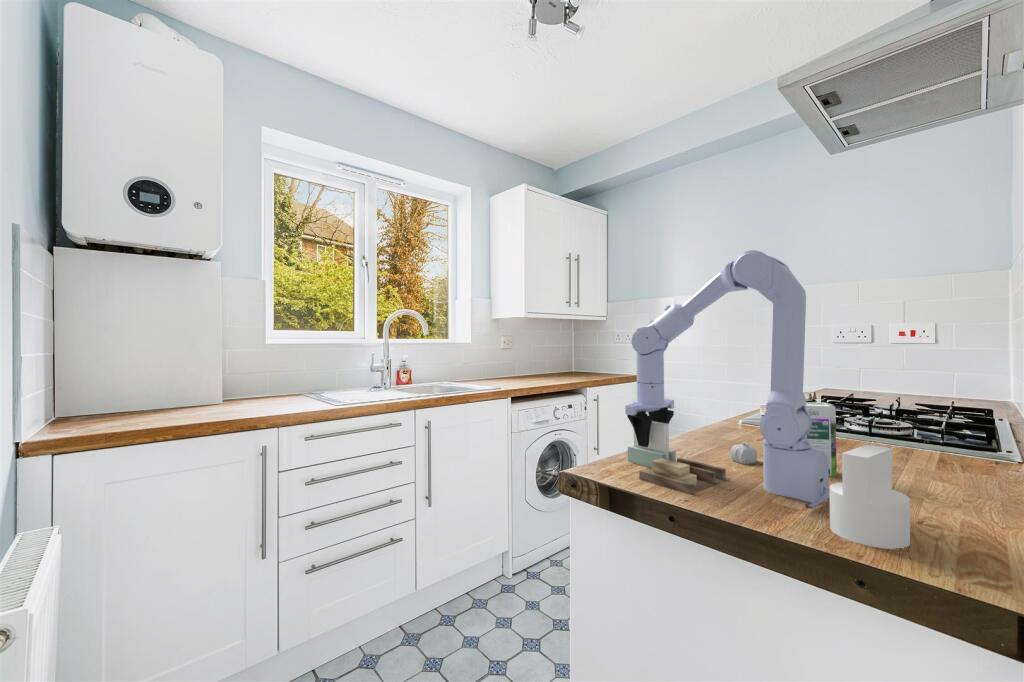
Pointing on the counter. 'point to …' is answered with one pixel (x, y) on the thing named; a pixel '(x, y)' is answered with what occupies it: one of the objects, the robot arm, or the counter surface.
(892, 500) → the cylinder with rectangular tab
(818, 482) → the robot arm
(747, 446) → the garlic
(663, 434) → the white square panel
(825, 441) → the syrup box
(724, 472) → the rack
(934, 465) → the counter surface
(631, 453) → the stand
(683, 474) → the offcut stack
